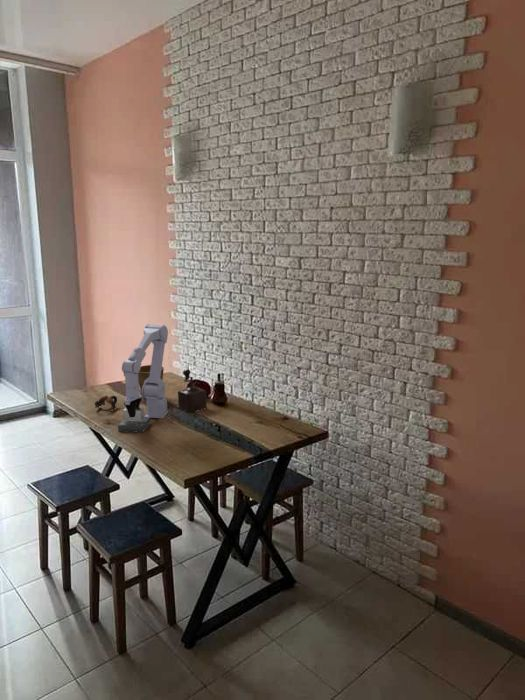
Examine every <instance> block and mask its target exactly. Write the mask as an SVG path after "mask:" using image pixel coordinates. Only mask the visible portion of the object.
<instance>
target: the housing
mask: <svg viewBox="0 0 525 700" xmlns="http://www.w3.org/2000/svg"><path fill="white" fill-rule="evenodd" d="M144 411H145V410H144V407H139V408H136V409H135V417H130V416H129V413H128V410H127V408H126V407H125V408H124V409H123V410H122V412H123V420H142V419H143V418H144V416H145V415H144V413H145V412H144Z"/></svg>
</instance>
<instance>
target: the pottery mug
mask: <svg viewBox="0 0 525 700" xmlns="http://www.w3.org/2000/svg"><path fill="white" fill-rule="evenodd" d="M117 402H118V398H117V396H115V395H111V396H110V397H109V396H108V395H104V396H102V397H101V398H99V399H98V400H96V401H95V402H94V403H93V404H94V406H95V407H94V408H95V409H100V408H99V406H102V405H103V406H105V405H106V403H108V404H110V405H111V407H110V408H109V411H110V410H114V409H115V408H116V409H117V407H116V404H117ZM116 409H115V410H116ZM115 410H114V411H115Z"/></svg>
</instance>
